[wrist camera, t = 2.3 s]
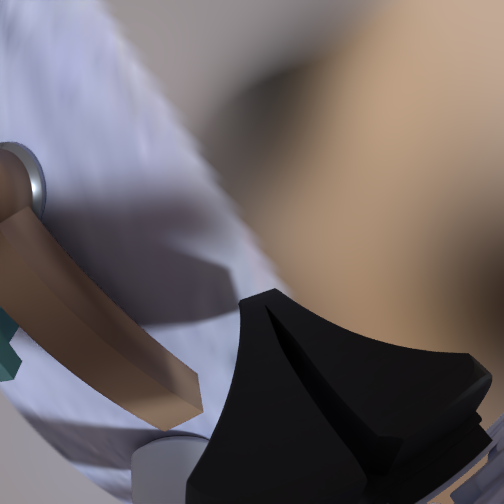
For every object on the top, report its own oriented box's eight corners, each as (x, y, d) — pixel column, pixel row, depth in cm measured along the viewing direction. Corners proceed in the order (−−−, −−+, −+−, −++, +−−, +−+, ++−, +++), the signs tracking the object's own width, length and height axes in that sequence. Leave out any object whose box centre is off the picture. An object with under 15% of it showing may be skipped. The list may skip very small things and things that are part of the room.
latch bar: (-41, 195, 6) (-84, 216, 4) (1, 129, 6) (-46, 133, 3) (153, 394, 11) (154, 442, 9) (207, 361, 11) (218, 411, 9)
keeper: (55, 299, 9) (14, 379, 5) (12, 315, 9) (-29, 385, 5) (38, 268, 8) (-16, 340, 5) (-3, 287, 8) (-54, 352, 4)
